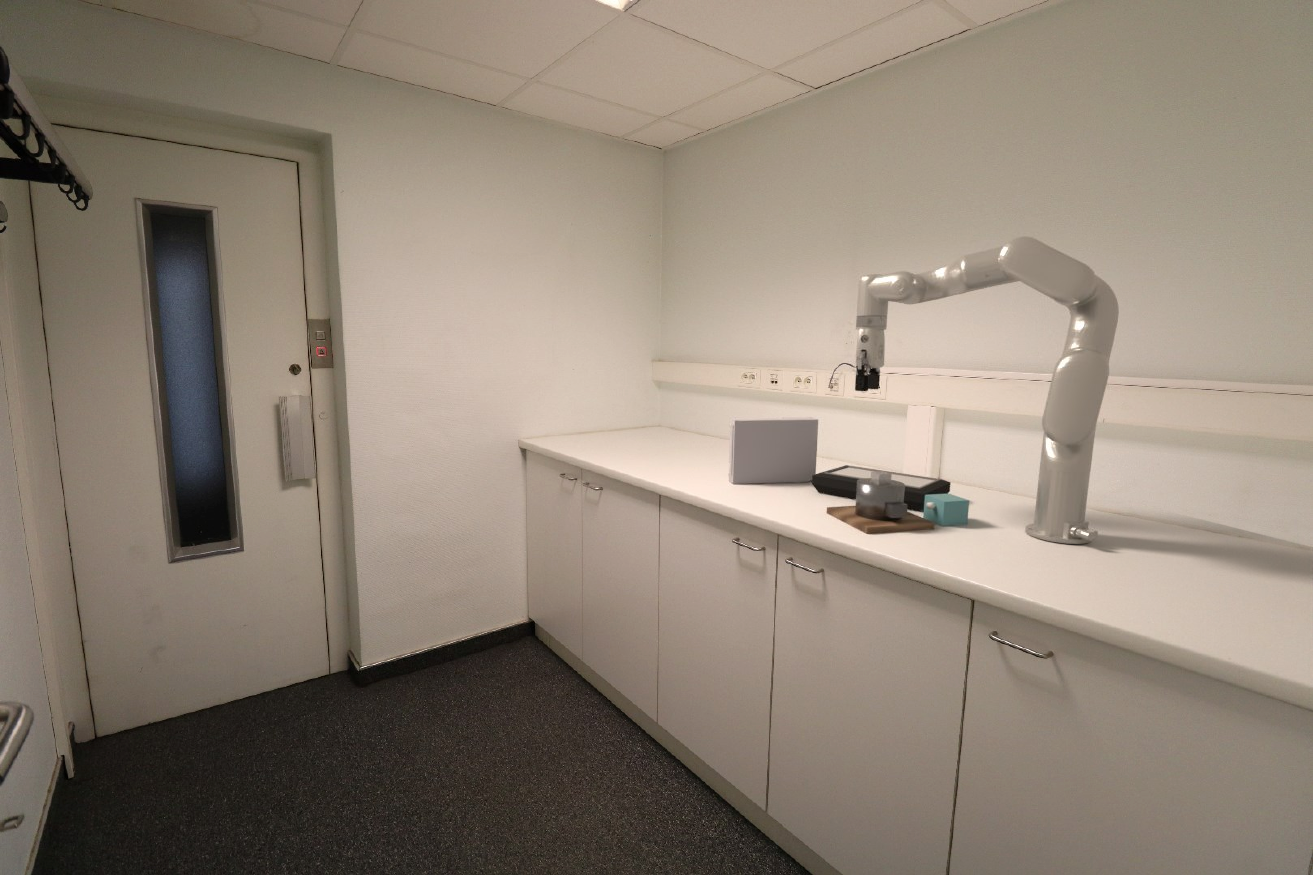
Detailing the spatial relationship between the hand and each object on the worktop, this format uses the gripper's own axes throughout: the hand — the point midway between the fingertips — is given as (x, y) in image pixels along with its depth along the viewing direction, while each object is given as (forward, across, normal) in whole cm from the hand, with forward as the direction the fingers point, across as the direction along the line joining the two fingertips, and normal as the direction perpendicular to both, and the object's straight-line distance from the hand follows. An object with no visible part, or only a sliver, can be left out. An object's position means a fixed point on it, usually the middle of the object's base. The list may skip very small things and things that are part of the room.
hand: (867, 390), depth 162 cm
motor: (+30, -13, -9) cm, 34 cm away
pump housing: (+31, -3, -22) cm, 38 cm away
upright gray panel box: (+31, +13, +32) cm, 47 cm away
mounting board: (+31, -12, -8) cm, 34 cm away
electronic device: (+32, +13, -1) cm, 34 cm away
